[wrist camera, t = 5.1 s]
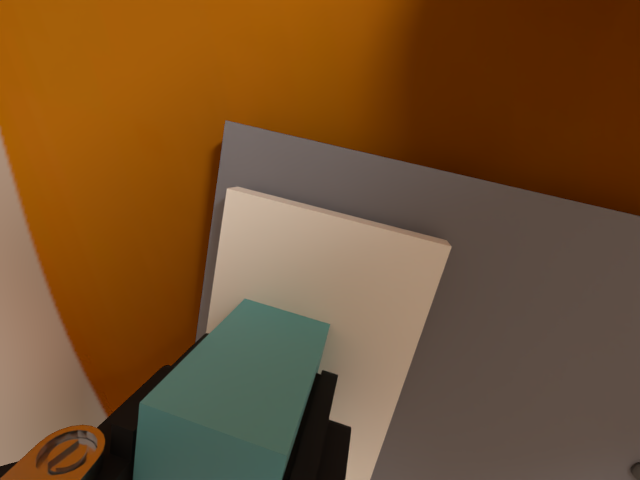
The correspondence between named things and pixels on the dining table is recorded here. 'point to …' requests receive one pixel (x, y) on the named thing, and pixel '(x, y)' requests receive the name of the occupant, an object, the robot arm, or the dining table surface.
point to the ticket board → (483, 313)
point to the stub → (291, 341)
